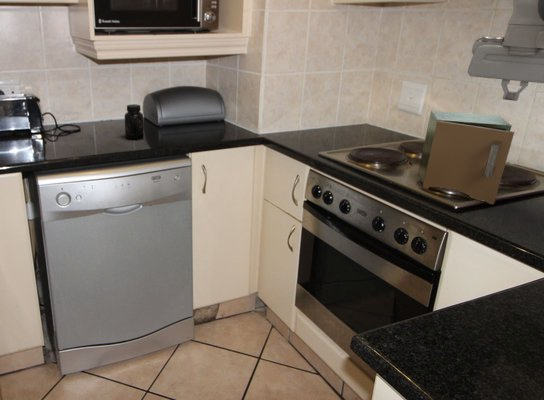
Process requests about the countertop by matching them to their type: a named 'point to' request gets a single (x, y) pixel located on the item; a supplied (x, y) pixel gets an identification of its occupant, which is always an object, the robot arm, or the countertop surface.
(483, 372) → the countertop surface
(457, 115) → the valve cabinet
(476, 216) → the countertop surface
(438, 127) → the door
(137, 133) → the supplement bottle
